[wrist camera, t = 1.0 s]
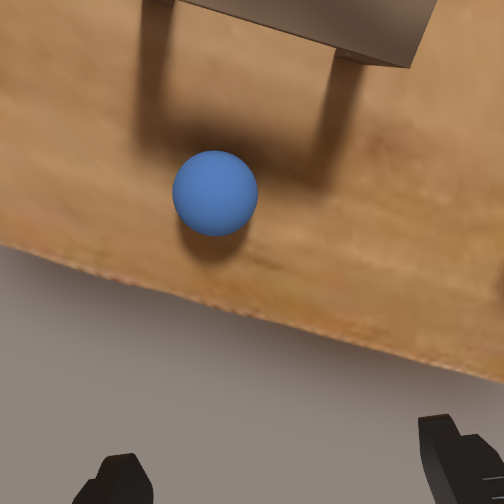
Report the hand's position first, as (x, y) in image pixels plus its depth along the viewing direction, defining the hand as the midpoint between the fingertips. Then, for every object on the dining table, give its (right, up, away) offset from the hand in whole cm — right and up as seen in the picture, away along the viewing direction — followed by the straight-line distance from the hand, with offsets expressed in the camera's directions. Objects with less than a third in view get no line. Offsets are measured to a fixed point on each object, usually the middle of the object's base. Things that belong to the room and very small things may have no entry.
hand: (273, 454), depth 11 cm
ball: (-3, +10, +17) cm, 20 cm away
